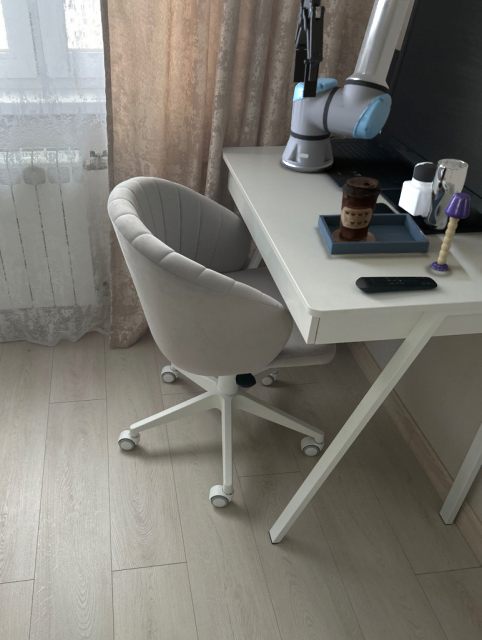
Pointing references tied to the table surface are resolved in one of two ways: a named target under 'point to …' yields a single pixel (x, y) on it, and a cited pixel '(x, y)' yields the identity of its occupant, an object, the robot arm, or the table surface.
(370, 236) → the coaster
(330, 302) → the table surface
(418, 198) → the medicine bottle
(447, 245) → the toy lamp
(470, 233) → the table surface
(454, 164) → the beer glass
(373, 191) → the coffee cup
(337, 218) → the tray
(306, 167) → the robot arm
